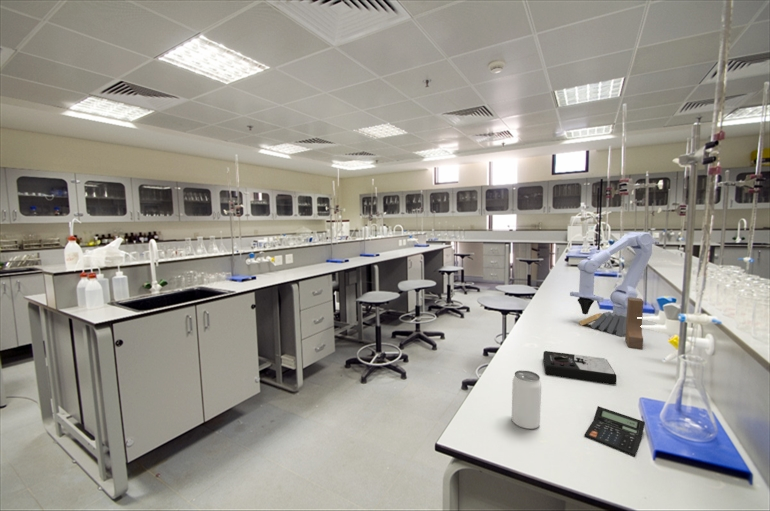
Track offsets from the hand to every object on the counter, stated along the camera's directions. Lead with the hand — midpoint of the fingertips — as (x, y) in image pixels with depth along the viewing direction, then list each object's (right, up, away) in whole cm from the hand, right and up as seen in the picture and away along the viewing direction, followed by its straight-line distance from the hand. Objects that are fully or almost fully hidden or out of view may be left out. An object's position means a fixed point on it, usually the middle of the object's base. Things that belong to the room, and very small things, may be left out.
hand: (585, 313), depth 155 cm
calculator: (-41, -14, -79) cm, 90 cm away
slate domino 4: (+7, -7, -13) cm, 17 cm away
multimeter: (-31, -11, -47) cm, 57 cm away
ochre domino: (0, -5, +1) cm, 5 cm away
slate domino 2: (+4, -6, -7) cm, 10 cm away
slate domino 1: (+2, -5, -4) cm, 7 cm away
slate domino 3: (+6, -6, -10) cm, 13 cm away
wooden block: (+4, -8, -25) cm, 26 cm away
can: (-60, -14, -74) cm, 96 cm away
